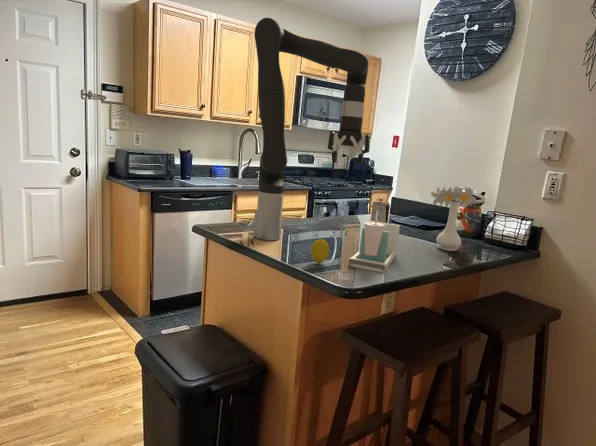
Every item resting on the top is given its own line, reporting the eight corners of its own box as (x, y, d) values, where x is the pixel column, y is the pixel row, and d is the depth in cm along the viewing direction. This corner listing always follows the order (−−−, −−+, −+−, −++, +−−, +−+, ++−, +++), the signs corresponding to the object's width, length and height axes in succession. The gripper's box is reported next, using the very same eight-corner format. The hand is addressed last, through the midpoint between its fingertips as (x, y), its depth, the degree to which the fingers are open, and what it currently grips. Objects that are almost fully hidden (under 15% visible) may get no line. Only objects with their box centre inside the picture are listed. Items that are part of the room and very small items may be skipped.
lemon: (322, 267, 128) (324, 241, 127) (306, 263, 131) (308, 238, 129) (330, 264, 133) (333, 239, 131) (315, 260, 136) (317, 235, 134)
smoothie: (369, 257, 130) (374, 212, 127) (356, 251, 136) (361, 208, 133) (385, 256, 133) (391, 212, 130) (372, 250, 139) (377, 208, 136)
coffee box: (384, 248, 160) (390, 205, 157) (367, 245, 161) (372, 203, 158) (384, 242, 169) (390, 202, 166) (368, 240, 170) (373, 200, 167)
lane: (348, 266, 132) (352, 231, 130) (364, 250, 154) (368, 220, 152) (383, 272, 129) (388, 237, 126) (395, 256, 150) (399, 225, 148)
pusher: (358, 258, 139) (362, 228, 137) (359, 257, 140) (363, 227, 138) (384, 262, 136) (388, 232, 134) (385, 262, 137) (389, 231, 135)
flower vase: (435, 241, 180) (444, 182, 175) (475, 253, 165) (487, 189, 161) (415, 244, 172) (425, 182, 167) (456, 256, 158) (467, 189, 153)
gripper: (374, 118, 146) (369, 165, 149) (335, 115, 151) (330, 161, 154) (370, 116, 139) (364, 166, 143) (328, 113, 144) (323, 161, 147)
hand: (346, 163), depth 148 cm, fingers open, 8 cm apart
